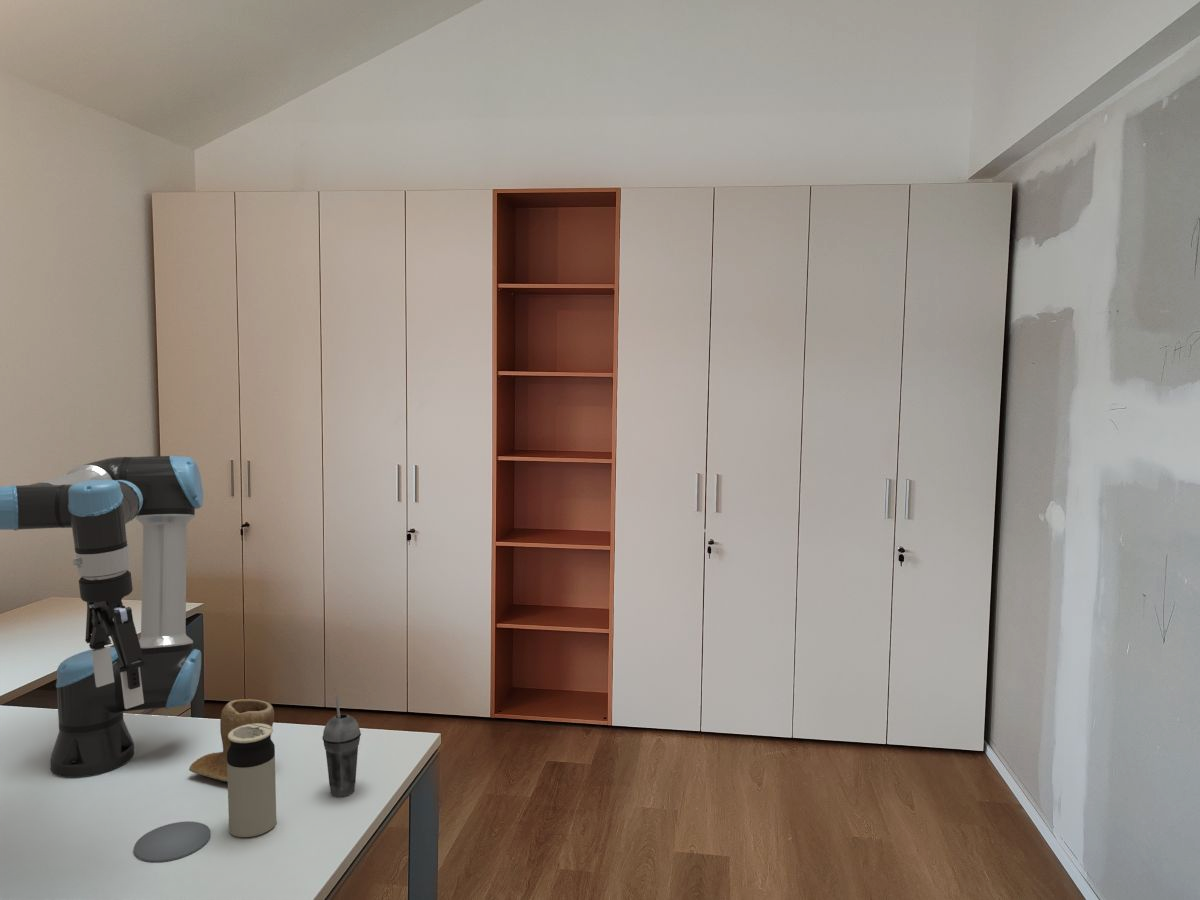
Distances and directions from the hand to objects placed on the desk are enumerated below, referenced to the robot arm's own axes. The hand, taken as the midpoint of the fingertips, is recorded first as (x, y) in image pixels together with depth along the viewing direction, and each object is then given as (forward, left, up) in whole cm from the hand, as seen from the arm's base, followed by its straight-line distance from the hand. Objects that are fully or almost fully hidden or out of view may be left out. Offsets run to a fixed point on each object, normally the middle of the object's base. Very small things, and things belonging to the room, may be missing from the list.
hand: (119, 694), depth 142 cm
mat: (+3, +7, -28) cm, 29 cm away
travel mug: (+8, +19, -28) cm, 35 cm away
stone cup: (-14, +26, -28) cm, 40 cm away
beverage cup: (+8, +37, -28) cm, 47 cm away
